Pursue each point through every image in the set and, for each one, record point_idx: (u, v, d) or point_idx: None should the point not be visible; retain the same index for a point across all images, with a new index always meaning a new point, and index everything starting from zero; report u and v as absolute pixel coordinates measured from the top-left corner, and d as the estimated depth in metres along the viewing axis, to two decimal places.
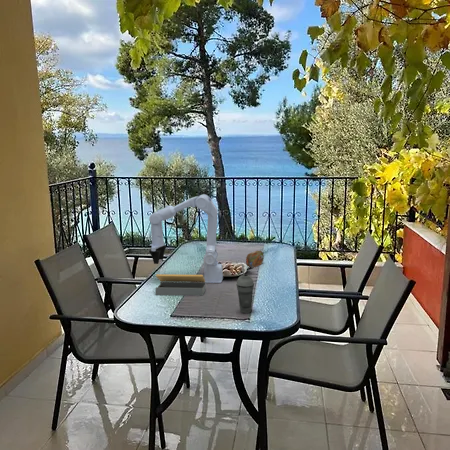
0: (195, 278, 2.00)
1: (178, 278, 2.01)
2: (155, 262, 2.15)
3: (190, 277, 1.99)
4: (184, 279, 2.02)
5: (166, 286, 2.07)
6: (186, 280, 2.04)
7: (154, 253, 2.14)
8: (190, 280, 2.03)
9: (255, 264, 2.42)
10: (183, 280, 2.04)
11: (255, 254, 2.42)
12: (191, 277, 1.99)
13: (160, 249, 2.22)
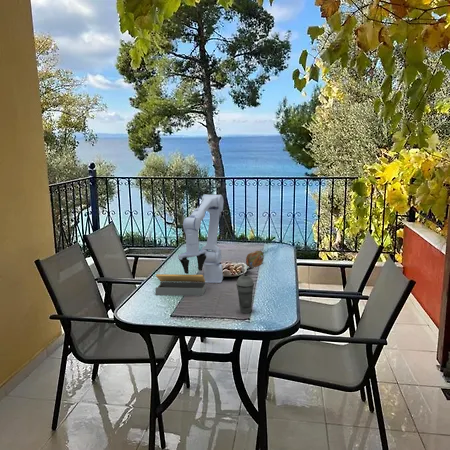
0: (195, 278, 2.00)
1: (178, 278, 2.01)
2: (185, 271, 1.96)
3: (190, 277, 1.99)
4: (184, 279, 2.02)
5: (166, 286, 2.07)
6: (186, 280, 2.04)
7: None
8: (190, 280, 2.03)
9: (255, 264, 2.42)
10: (183, 280, 2.04)
11: (255, 254, 2.42)
12: (191, 277, 1.99)
13: (199, 258, 2.00)
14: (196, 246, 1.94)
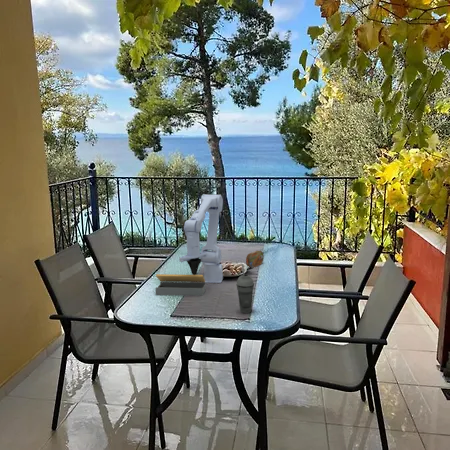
0: (195, 278, 2.00)
1: (178, 278, 2.01)
2: (192, 272, 1.98)
3: (190, 277, 1.99)
4: (184, 279, 2.02)
5: (166, 286, 2.07)
6: (186, 280, 2.04)
7: (191, 263, 1.97)
8: (190, 280, 2.03)
9: (255, 264, 2.42)
10: (183, 280, 2.04)
11: (255, 254, 2.42)
12: (191, 277, 1.99)
13: None
14: (197, 248, 1.94)
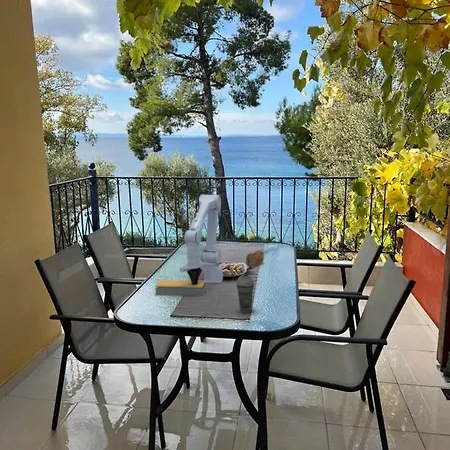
0: None
1: None
2: (192, 282, 1.98)
3: None
4: None
5: None
6: None
7: None
8: None
9: (255, 264, 2.42)
10: None
11: (255, 254, 2.42)
12: None
13: None
14: (197, 259, 1.95)
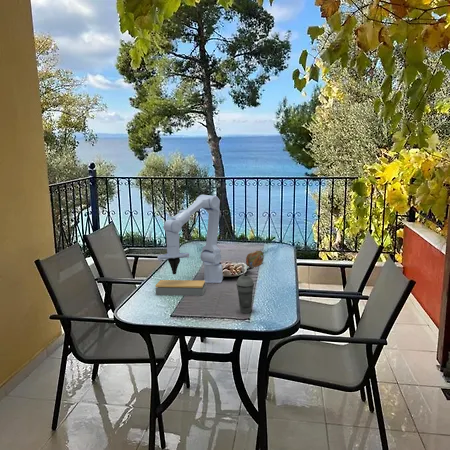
0: None
1: None
2: (172, 272, 1.99)
3: None
4: None
5: None
6: None
7: None
8: None
9: (255, 264, 2.42)
10: None
11: (255, 254, 2.42)
12: None
13: (174, 262, 1.98)
14: (175, 248, 1.94)
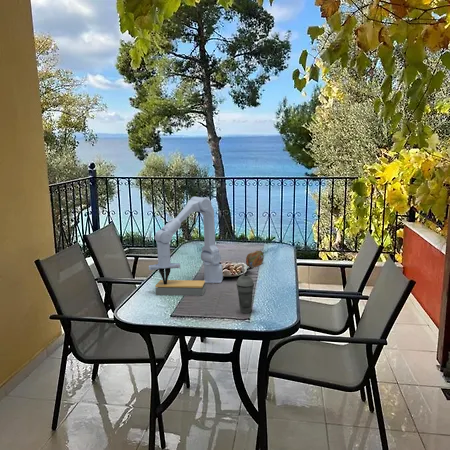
0: None
1: None
2: None
3: None
4: None
5: None
6: None
7: None
8: None
9: (255, 264, 2.42)
10: None
11: (255, 254, 2.42)
12: None
13: None
14: (165, 259, 1.96)
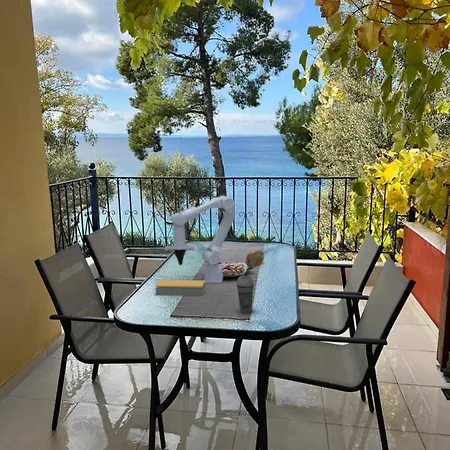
0: None
1: None
2: None
3: None
4: None
5: None
6: None
7: None
8: None
9: (255, 264, 2.42)
10: None
11: (255, 254, 2.42)
12: None
13: None
14: (179, 241, 2.07)
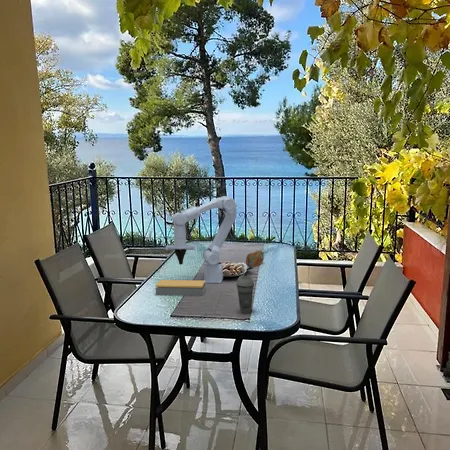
0: None
1: None
2: None
3: None
4: None
5: None
6: None
7: None
8: None
9: (255, 264, 2.42)
10: None
11: (255, 254, 2.42)
12: None
13: None
14: (179, 240, 2.07)
